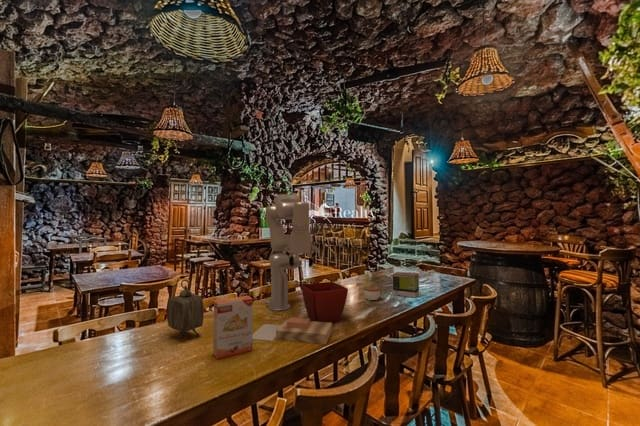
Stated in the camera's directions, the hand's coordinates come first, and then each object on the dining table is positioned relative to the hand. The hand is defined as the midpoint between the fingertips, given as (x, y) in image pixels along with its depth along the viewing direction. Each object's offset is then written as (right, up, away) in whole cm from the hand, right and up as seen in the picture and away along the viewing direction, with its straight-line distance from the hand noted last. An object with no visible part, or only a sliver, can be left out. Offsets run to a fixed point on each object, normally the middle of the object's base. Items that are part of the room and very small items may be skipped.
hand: (301, 266), depth 138 cm
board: (+2, -30, -5) cm, 30 cm away
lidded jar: (+42, -31, +52) cm, 74 cm away
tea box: (+67, -31, +63) cm, 97 cm away
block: (-1, -26, -4) cm, 26 cm away
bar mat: (-15, -30, -1) cm, 34 cm away
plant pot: (+11, -31, +17) cm, 36 cm away
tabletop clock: (-51, -30, -6) cm, 60 cm away
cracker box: (-25, -30, -22) cm, 45 cm away
